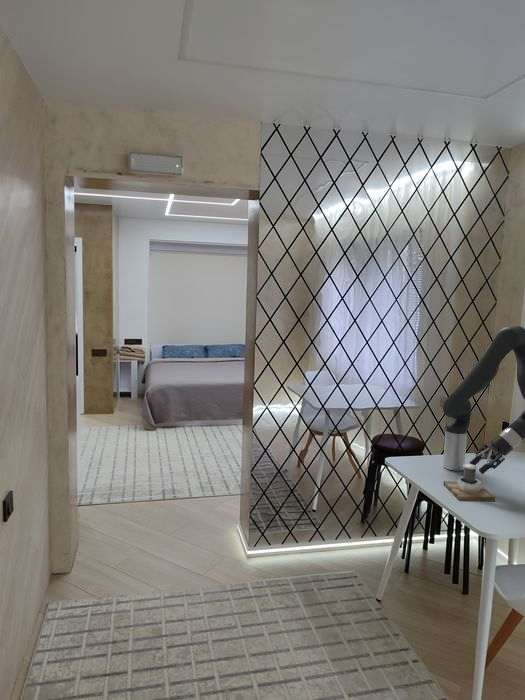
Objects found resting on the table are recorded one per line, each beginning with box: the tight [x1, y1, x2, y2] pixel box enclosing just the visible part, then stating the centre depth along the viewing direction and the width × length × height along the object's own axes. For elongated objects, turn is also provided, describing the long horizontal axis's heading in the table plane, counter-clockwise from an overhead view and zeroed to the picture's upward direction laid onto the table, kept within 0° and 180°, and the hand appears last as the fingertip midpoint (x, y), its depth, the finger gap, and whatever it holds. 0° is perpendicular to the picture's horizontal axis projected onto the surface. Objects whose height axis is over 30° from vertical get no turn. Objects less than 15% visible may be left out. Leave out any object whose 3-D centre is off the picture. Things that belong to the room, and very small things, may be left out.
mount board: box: [443, 480, 496, 502], centre depth 201 cm, size 16×14×2 cm
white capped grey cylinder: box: [462, 463, 478, 483], centre depth 201 cm, size 5×5×10 cm
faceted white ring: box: [456, 476, 482, 493], centre depth 201 cm, size 9×9×4 cm
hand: (475, 468), depth 200 cm, fingers open, 8 cm apart
